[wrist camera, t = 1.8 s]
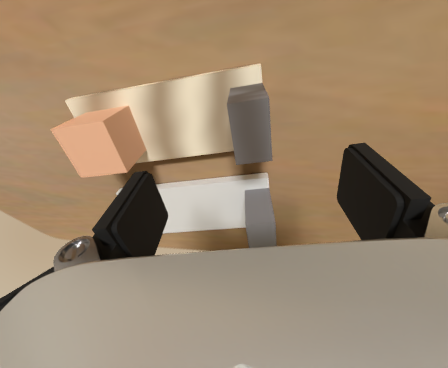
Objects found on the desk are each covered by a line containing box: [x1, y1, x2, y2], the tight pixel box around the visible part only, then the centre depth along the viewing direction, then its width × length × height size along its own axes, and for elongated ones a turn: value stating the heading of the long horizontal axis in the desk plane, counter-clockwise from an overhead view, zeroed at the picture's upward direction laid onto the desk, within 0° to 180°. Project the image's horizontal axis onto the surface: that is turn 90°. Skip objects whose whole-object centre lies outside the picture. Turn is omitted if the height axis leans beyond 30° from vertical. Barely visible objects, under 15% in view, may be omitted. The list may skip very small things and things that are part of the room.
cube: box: [51, 105, 146, 178], centre depth 22 cm, size 5×5×5 cm
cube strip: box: [65, 63, 272, 165], centre depth 21 cm, size 20×8×7 cm, turn 100°
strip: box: [116, 173, 277, 248], centre depth 27 cm, size 20×8×7 cm, turn 100°
